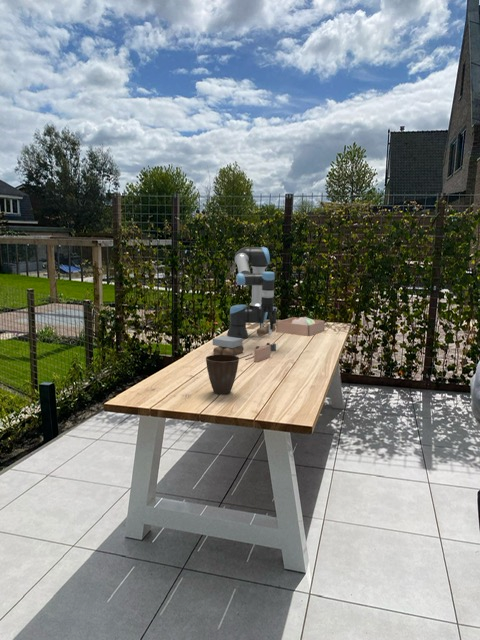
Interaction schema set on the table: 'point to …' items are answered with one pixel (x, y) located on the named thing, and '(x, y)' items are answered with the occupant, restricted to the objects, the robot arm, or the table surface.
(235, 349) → the roller
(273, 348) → the rack
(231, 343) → the slab
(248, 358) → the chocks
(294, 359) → the table surface
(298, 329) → the planter
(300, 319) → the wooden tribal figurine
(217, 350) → the roller
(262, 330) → the roller
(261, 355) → the block
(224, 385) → the plant pot
